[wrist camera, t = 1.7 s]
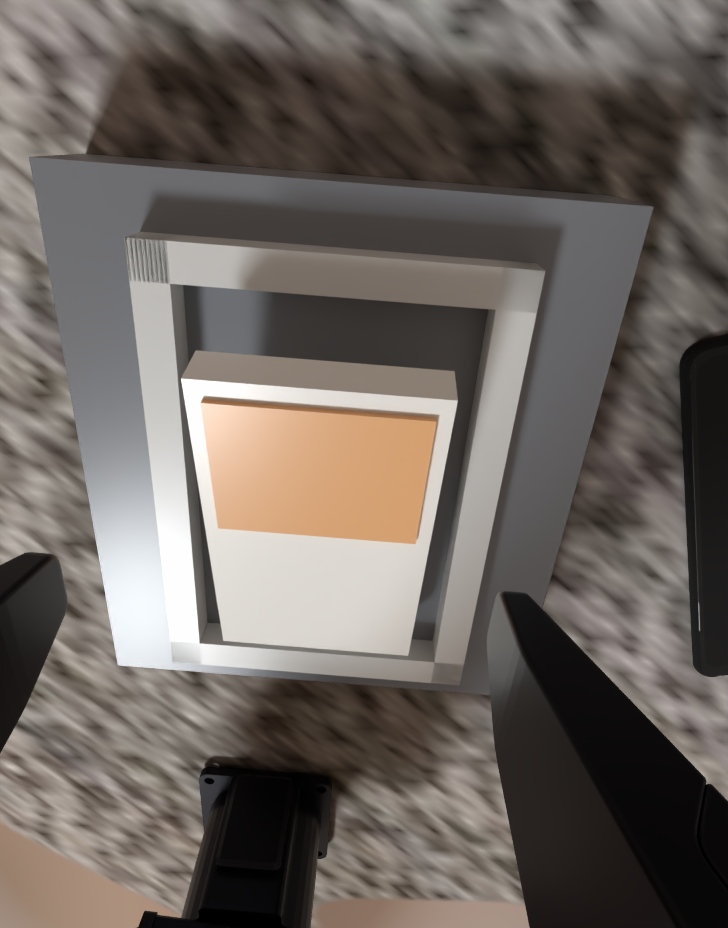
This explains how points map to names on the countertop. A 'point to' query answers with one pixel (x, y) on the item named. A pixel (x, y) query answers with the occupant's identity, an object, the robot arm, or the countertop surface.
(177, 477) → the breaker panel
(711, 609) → the smartphone
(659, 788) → the robot arm
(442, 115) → the countertop surface
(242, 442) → the rocker switch
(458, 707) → the countertop surface
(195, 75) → the countertop surface
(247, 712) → the countertop surface
